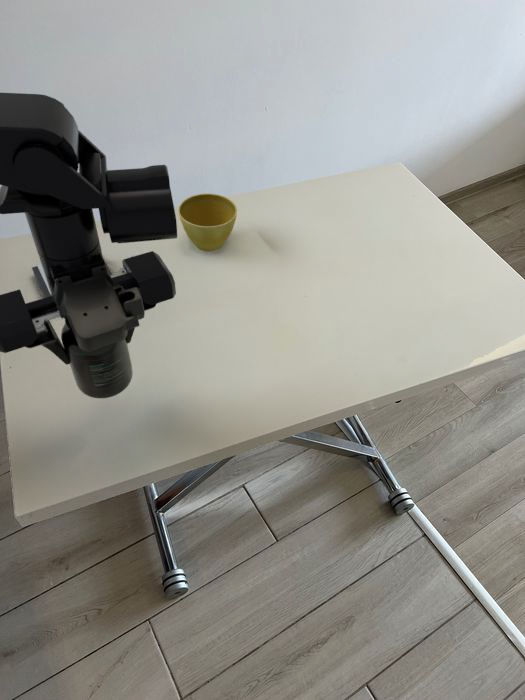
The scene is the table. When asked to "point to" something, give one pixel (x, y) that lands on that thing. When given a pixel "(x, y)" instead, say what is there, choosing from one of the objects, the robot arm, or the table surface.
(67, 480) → the table surface
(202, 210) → the flower pot
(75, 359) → the supplement bottle
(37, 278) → the kitchen scale
